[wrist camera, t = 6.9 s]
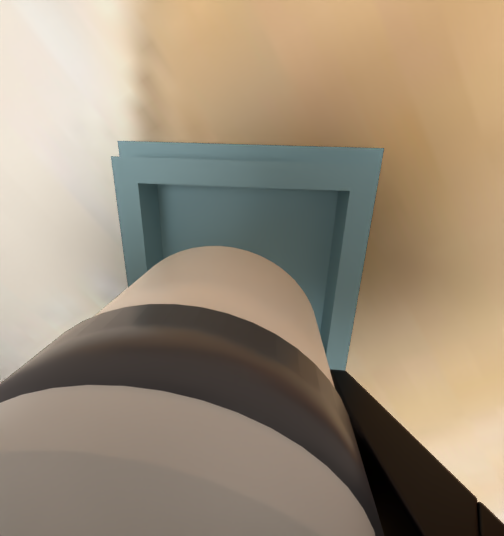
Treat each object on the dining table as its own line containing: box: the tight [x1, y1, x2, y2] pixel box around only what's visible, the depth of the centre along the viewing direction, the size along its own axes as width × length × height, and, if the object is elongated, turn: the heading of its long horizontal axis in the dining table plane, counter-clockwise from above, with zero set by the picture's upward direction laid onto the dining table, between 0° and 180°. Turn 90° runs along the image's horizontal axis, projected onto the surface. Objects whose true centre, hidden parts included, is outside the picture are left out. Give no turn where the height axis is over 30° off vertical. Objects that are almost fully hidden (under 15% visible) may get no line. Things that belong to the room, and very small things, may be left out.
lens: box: [0, 246, 384, 536], centre depth 6 cm, size 6×6×6 cm
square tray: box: [111, 141, 384, 370], centre depth 14 cm, size 12×12×3 cm
